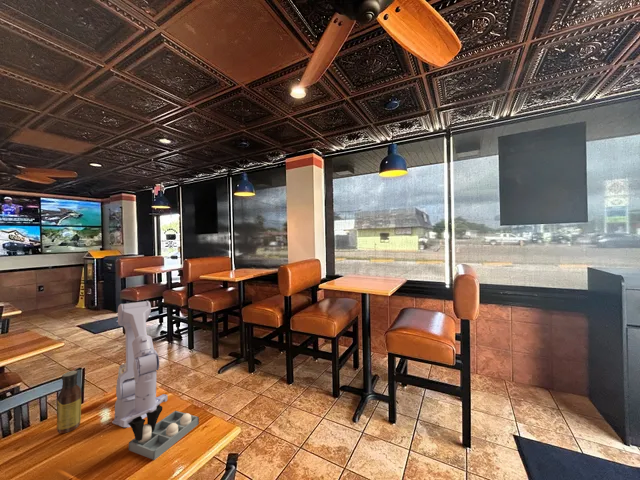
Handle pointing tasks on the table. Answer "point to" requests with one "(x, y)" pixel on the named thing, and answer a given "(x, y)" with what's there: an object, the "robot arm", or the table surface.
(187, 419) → the egg
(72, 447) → the table surface
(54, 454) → the table surface
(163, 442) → the carton
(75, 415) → the sauce bottle
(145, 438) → the egg
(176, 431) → the egg
